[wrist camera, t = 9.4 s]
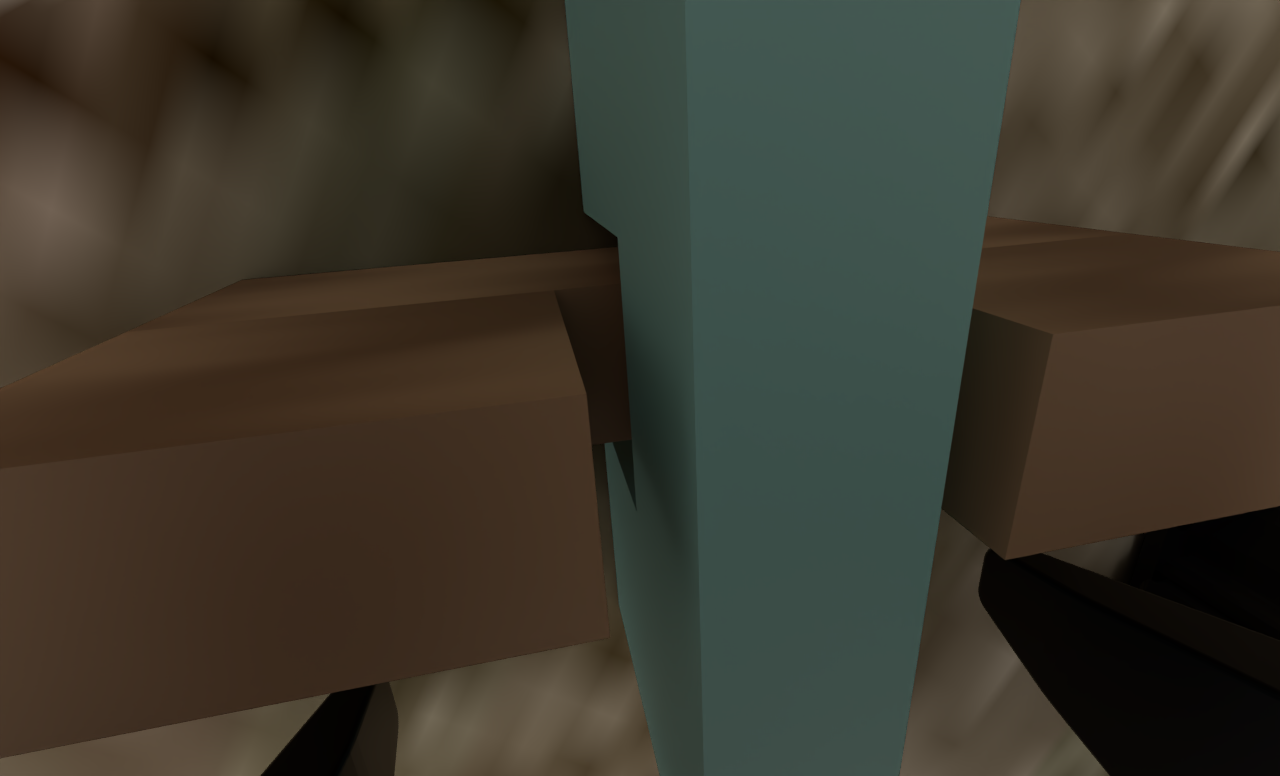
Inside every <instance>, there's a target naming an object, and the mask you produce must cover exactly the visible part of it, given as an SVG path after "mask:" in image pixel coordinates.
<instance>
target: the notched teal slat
mask: <svg viewBox="0 0 1280 776" xmlns="http://www.w3.org/2000/svg"><path fill="white" fill-rule="evenodd" d="M1020 2H1021V0H565V9H566V20H567V32H568V43H569V54H570V65H571V76H572V87H573V98H574V110H575V121H576V132H577V143H578V154H579V165H580V176H581V187H582V199H583V210H584V213H586V214H587V215H588V216H590V217H591V218H592V219H594V220H595V221H596V222H598V223H599V224H600V225H602V226H603V227H604V228H606V229H607V230H608V231H610V232H611V233H612V234H614V235H615V236H616V237H618V250H619V265H620V279H621V293H622V307H623V322H624V336H625V350H626V364H627V379H628V393H629V407H630V421H631V436H632V440H625V441H618V442H611V443H604V444H605V455H606V466H607V477H608V488H609V499H610V511H611V522H612V533H613V544H614V555H615V566H616V577H617V589H618V600H619V607H620V611H621V616H622V620H623V624H624V628H625V632H626V636H627V641H628V645H629V649H630V653H631V657H632V662H633V666H634V670H635V674H636V678H637V682H638V687H639V691H640V695H641V699H642V703H643V707H644V712H645V716H646V720H647V724H648V728H649V732H650V737H651V741H652V745H653V749H654V753H655V758H656V762H657V766H658V770H659V774H660V776H899V774H900V768H901V762H902V755H903V749H904V742H905V736H906V730H907V723H908V717H909V710H910V704H911V698H912V691H913V685H914V679H915V672H916V666H917V659H918V653H919V647H920V640H921V634H922V628H923V621H924V615H925V608H926V602H927V596H928V589H929V583H930V576H931V570H932V564H933V557H934V551H935V545H936V538H937V532H938V525H939V519H940V513H941V506H942V500H943V493H944V487H945V481H946V474H947V468H948V462H949V455H950V449H951V442H952V436H953V430H954V423H955V417H956V410H957V404H958V398H959V391H960V385H961V379H962V372H963V366H964V359H965V353H966V347H967V340H968V334H969V327H970V321H971V315H972V308H973V302H974V296H975V289H976V283H977V276H978V270H979V264H980V257H981V251H982V244H983V238H984V232H985V225H986V219H987V213H988V206H989V200H990V193H991V187H992V181H993V174H994V168H995V161H996V155H997V149H998V142H999V136H1000V130H1001V123H1002V117H1003V110H1004V104H1005V98H1006V91H1007V85H1008V78H1009V72H1010V66H1011V59H1012V53H1013V47H1014V40H1015V34H1016V27H1017V21H1018V15H1019V8H1020Z"/></svg>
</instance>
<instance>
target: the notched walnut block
mask: <svg viewBox="0 0 1280 776" xmlns="http://www.w3.org/2000/svg"><path fill="white" fill-rule="evenodd" d="M625 440H632V436H631V421H630V407H629V393H628V379H627V364H626V350H625V336H624V322H623V307H622V293H621V279H620V265H619V250H618V247H612V248H600V249H589V250H578V251H566V252H555V253H543V254H532V255H520V256H509V257H498V258H486V259H475V260H463V261H452V262H440V263H429V264H418V265H406V266H395V267H383V268H372V269H360V270H349V271H338V272H326V273H315V274H303V275H292V276H280V277H269V278H258V279H246V280H241V281H238V282H236V283H234V284H232V285H229V286H227V287H225V288H223V289H221V290H218V291H216V292H214V293H212V294H209V295H207V296H205V297H203V298H201V299H198V300H196V301H194V302H192V303H189V304H187V305H185V306H183V307H180V308H178V309H176V310H174V311H172V312H169V313H167V314H165V315H163V316H160V317H158V318H156V319H154V320H151V321H149V322H147V323H145V324H143V325H140V326H138V327H136V328H134V329H131V330H129V331H127V332H125V333H123V334H120V335H118V336H116V337H114V338H111V339H109V340H107V341H105V342H102V343H100V344H98V345H96V346H94V347H91V348H89V349H87V350H85V351H82V352H80V353H78V354H76V355H74V356H71V357H69V358H67V359H65V360H62V361H60V362H58V363H56V364H53V365H51V366H49V367H47V368H45V369H42V370H40V371H38V372H36V373H33V374H31V375H29V376H27V377H25V378H22V379H20V380H18V381H16V382H13V383H11V384H9V385H7V386H4V387H2V388H0V758H4V757H9V756H14V755H19V754H24V753H30V752H35V751H40V750H45V749H50V748H55V747H60V746H65V745H70V744H75V743H80V742H85V741H90V740H95V739H101V738H106V737H111V736H116V735H121V734H126V733H131V732H136V731H141V730H146V729H151V728H156V727H161V726H166V725H172V724H177V723H182V722H187V721H192V720H197V719H202V718H207V717H212V716H217V715H222V714H227V713H232V712H237V711H243V710H248V709H253V708H258V707H263V706H268V705H273V704H278V703H283V702H288V701H293V700H298V699H303V698H309V697H314V696H319V695H324V694H329V693H334V692H339V691H344V690H349V689H354V688H359V687H364V686H369V685H374V684H380V683H385V682H390V681H395V680H400V679H405V678H410V677H415V676H420V675H425V674H430V673H435V672H440V671H445V670H451V669H456V668H461V667H466V666H471V665H476V664H481V663H486V662H491V661H496V660H501V659H506V658H511V657H516V656H522V655H527V654H532V653H537V652H542V651H547V650H552V649H557V648H562V647H567V646H572V645H577V644H582V643H588V642H593V641H598V640H603V639H608V638H610V629H609V619H608V609H607V599H606V588H605V578H604V568H603V558H602V547H601V537H600V527H599V517H598V507H597V496H596V486H595V476H594V466H593V455H592V445H597V444H604V443H611V442H618V441H625ZM1277 506H1280V252H1276V251H1268V250H1260V249H1251V248H1243V247H1235V246H1227V245H1219V244H1210V243H1202V242H1194V241H1186V240H1177V239H1169V238H1161V237H1153V236H1145V235H1136V234H1128V233H1120V232H1112V231H1104V230H1095V229H1087V228H1079V227H1071V226H1062V225H1054V224H1046V223H1038V222H1030V221H1021V220H1013V219H1005V218H997V217H988V216H987V219H986V225H985V232H984V238H983V244H982V251H981V257H980V264H979V270H978V276H977V283H976V289H975V296H974V302H973V308H972V315H971V321H970V327H969V334H968V340H967V347H966V353H965V359H964V366H963V372H962V379H961V385H960V391H959V398H958V404H957V410H956V417H955V423H954V430H953V436H952V442H951V449H950V455H949V462H948V468H947V474H946V481H945V487H944V493H943V500H942V506H941V508H942V509H943V510H944V511H945V512H946V513H948V514H949V515H950V516H951V517H953V518H954V519H955V520H956V521H957V522H959V523H960V524H961V525H962V526H964V527H965V528H966V529H967V530H969V531H970V532H971V533H972V534H973V535H975V536H976V537H977V538H978V539H980V540H981V541H982V542H983V543H984V544H986V545H987V546H988V547H989V548H991V549H992V550H993V551H994V552H996V553H997V554H998V555H999V556H1000V557H1002V558H1003V559H1004V560H1009V559H1014V558H1019V557H1024V556H1029V555H1034V554H1039V553H1044V552H1049V551H1054V550H1059V549H1064V548H1069V547H1074V546H1080V545H1085V544H1090V543H1095V542H1100V541H1105V540H1110V539H1115V538H1120V537H1125V536H1130V535H1135V534H1140V533H1145V532H1151V531H1156V530H1161V529H1166V528H1171V527H1176V526H1181V525H1186V524H1191V523H1196V522H1201V521H1206V520H1211V519H1217V518H1222V517H1227V516H1232V515H1237V514H1242V513H1247V512H1252V511H1257V510H1262V509H1267V508H1272V507H1277Z"/></svg>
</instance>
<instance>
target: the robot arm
mask: <svg viewBox="0 0 1280 776" xmlns="http://www.w3.org/2000/svg"><path fill="white" fill-rule="evenodd" d="M978 592H979V597H980V600H981V603H982V605H983V606H984V608H985V610H986V611H987V612H988V614H989V615H990V617H991V618H992V620H993V621H994V623H995V624H996V626H997V627H998V629H999V630H1000V631H1001V633H1002V634H1003V636H1004V637H1005V639H1006V640H1007V642H1008V643H1009V645H1010V646H1011V647H1012V649H1013V650H1014V652H1015V653H1016V655H1017V656H1018V658H1019V659H1020V661H1021V662H1022V663H1023V665H1024V666H1025V668H1026V669H1027V671H1028V672H1029V674H1030V675H1031V677H1032V678H1033V680H1034V681H1035V682H1036V684H1037V685H1038V687H1039V688H1040V689H1041V691H1042V692H1043V693H1044V695H1045V696H1046V698H1047V699H1048V700H1049V701H1050V703H1051V704H1052V705H1053V707H1054V708H1055V709H1056V710H1057V712H1058V713H1059V714H1060V715H1061V717H1062V718H1063V719H1064V720H1065V721H1066V723H1067V724H1068V725H1069V726H1070V728H1071V729H1072V730H1073V731H1074V732H1075V734H1076V735H1077V736H1078V737H1079V739H1080V740H1081V741H1082V742H1083V744H1084V745H1085V746H1086V747H1087V748H1088V750H1089V751H1090V752H1091V753H1092V755H1093V756H1094V757H1095V758H1096V759H1097V761H1098V762H1099V763H1100V764H1101V766H1102V767H1103V768H1104V769H1105V770H1106V772H1107V773H1108V774H1109V775H1110V776H1280V506H1277V507H1272V508H1267V509H1262V510H1257V511H1252V512H1247V513H1242V514H1237V515H1232V516H1227V517H1222V518H1217V519H1211V520H1206V521H1201V522H1196V523H1191V524H1186V525H1181V526H1176V527H1171V528H1166V529H1161V530H1156V531H1151V532H1147V533H1146V536H1145V540H1144V543H1143V546H1142V549H1141V552H1140V555H1139V558H1138V562H1137V565H1136V568H1135V571H1134V574H1133V577H1132V581H1131V584H1130V585H1127V584H1124V583H1122V582H1119V581H1116V580H1114V579H1111V578H1108V577H1105V576H1103V575H1100V574H1097V573H1094V572H1092V571H1089V570H1086V569H1084V568H1081V567H1078V566H1075V565H1073V564H1070V563H1067V562H1064V561H1062V560H1059V559H1056V558H1053V557H1051V556H1048V555H1045V554H1043V553H1039V554H1034V555H1029V556H1024V557H1019V558H1014V559H1009V560H1004V559H1003V558H1002V557H1000V556H999V555H998V554H997V553H996V552H994V551H993V550H992V549H991V548H990V549H988V551H987V552H986V554H985V557H984V562H983V567H982V572H981V577H980V582H979V588H978ZM397 738H398V712H397V707H396V704H395V701H394V697H393V694H392V690H391V687H390V683H389V682H385V683H380V684H374V685H369V686H364V687H359V688H354V689H349V690H344V691H339V692H334V693H330V695H329V696H328V697H327V698H326V699H325V701H324V702H323V703H322V704H321V705H320V706H319V708H318V709H317V710H316V711H315V712H314V713H313V715H312V716H311V717H310V718H309V719H308V720H307V722H306V723H305V724H304V725H303V726H302V727H301V729H300V730H299V731H298V732H297V733H296V735H295V736H294V737H293V738H292V739H291V740H290V742H289V743H288V744H287V745H286V746H285V747H284V749H283V750H282V751H281V752H280V753H279V754H278V756H277V757H276V758H275V759H274V760H273V761H272V763H271V764H270V765H269V766H268V767H267V769H266V770H265V771H264V772H263V773H262V774H261V776H394V771H395V760H396V749H397Z"/></svg>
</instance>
